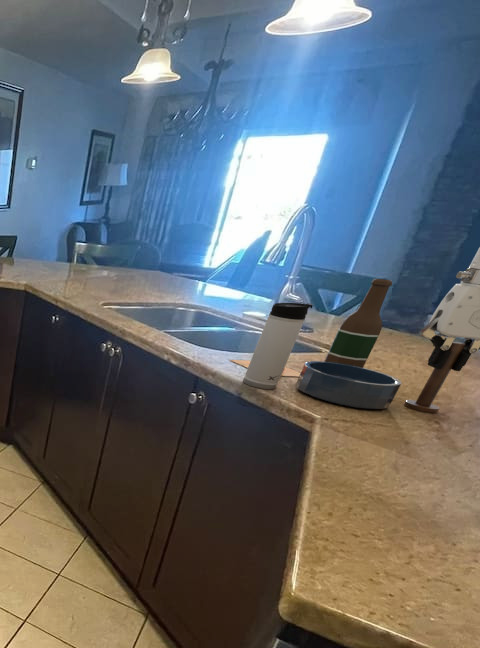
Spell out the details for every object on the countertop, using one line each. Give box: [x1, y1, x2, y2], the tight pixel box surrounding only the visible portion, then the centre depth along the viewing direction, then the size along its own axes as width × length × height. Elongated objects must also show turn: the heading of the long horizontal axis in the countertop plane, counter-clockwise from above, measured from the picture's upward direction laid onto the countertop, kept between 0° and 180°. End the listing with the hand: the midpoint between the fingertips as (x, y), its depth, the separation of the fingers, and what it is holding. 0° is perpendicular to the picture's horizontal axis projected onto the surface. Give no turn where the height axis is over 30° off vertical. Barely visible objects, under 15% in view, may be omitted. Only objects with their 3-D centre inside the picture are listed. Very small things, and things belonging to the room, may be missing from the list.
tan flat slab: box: [230, 359, 301, 377], centre depth 128 cm, size 12×12×4 cm
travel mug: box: [242, 302, 313, 390], centre depth 113 cm, size 6×7×20 cm
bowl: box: [294, 360, 402, 410], centre depth 110 cm, size 16×16×6 cm
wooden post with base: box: [403, 340, 465, 414], centre depth 104 cm, size 5×5×15 cm
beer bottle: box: [324, 278, 393, 368], centre depth 124 cm, size 8×8×24 cm
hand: (443, 367), depth 103 cm, fingers closed on wooden post with base
